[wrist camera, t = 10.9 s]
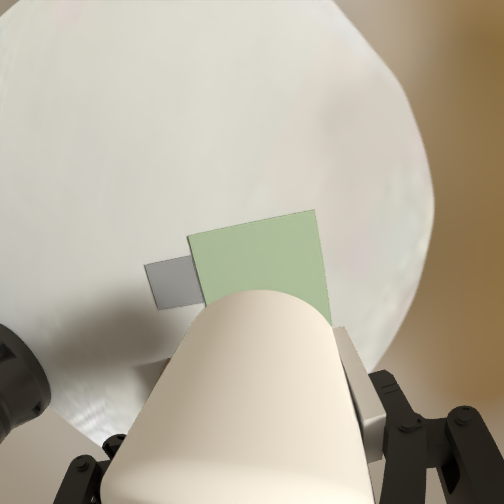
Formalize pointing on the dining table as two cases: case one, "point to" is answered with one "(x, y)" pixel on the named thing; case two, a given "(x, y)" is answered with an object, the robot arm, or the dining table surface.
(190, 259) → the pad
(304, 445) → the beverage can
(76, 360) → the dining table surface
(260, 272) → the pad
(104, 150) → the dining table surface
